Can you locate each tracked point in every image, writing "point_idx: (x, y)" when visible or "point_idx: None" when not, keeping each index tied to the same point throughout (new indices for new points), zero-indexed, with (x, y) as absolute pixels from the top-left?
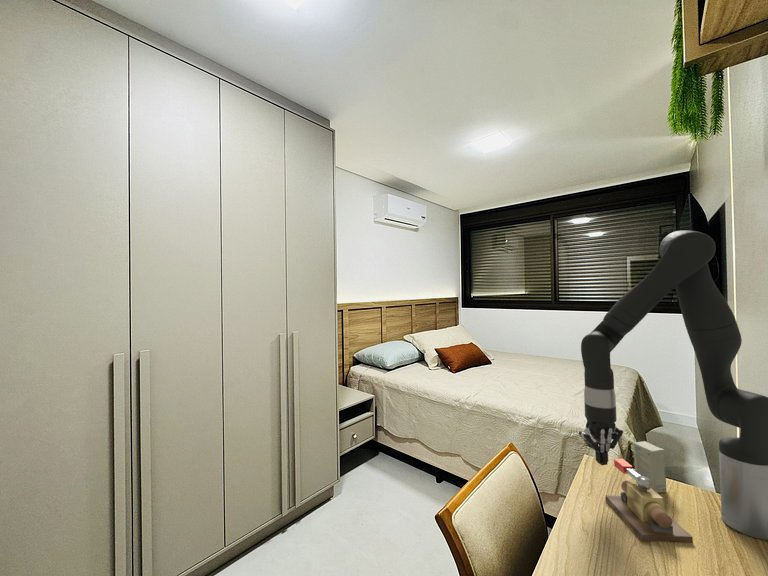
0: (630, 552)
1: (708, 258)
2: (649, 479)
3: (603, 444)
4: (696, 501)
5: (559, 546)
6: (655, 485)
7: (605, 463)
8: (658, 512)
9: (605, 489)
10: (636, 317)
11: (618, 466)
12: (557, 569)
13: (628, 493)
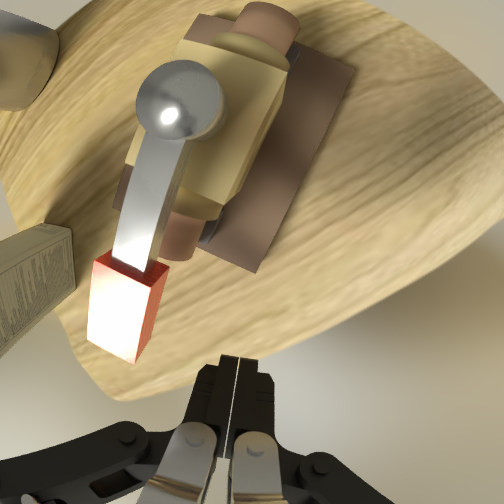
0: (418, 76)
1: None
2: (146, 81)
3: (238, 496)
4: (22, 167)
5: None
6: (52, 235)
7: (237, 362)
8: (278, 23)
9: (193, 308)
10: None
11: (150, 318)
12: None
13: (236, 187)
